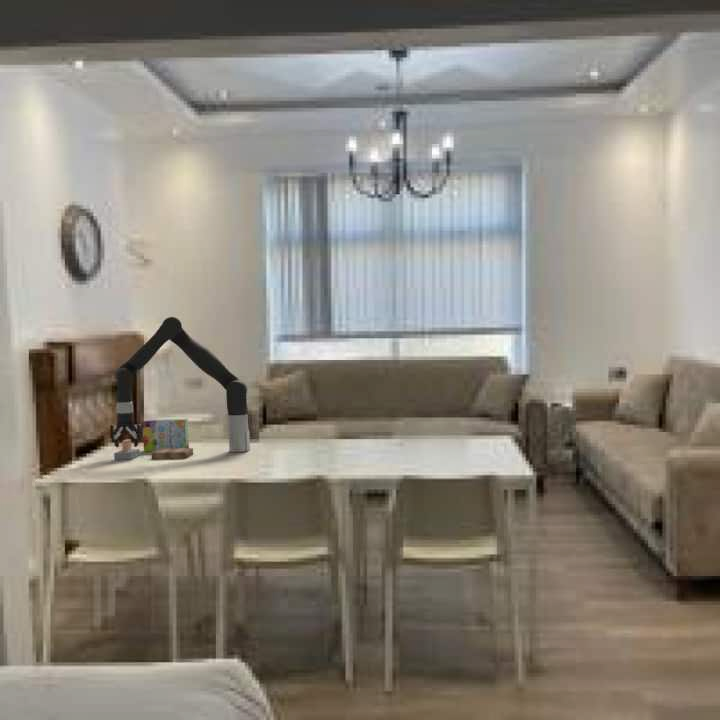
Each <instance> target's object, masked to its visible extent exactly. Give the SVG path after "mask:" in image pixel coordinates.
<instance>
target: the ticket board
mask: <svg viewBox="0 0 720 720" xmlns="http://www.w3.org/2000/svg"><path fill="white" fill-rule="evenodd" d="M193 455H194V448H192V447H189V448H178V449H158V450H156V451H151V460H184V459H185V460H186V459H189V458H191V457H192V456H193Z"/></svg>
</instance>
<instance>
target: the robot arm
mask: <svg viewBox="0 0 720 720" xmlns="http://www.w3.org/2000/svg"><path fill="white" fill-rule="evenodd" d="M168 341H171V343H173V344H175V345H176V346H177V347H178V348H179V349H180V350H181V351H182V352H183V353H184V354H185V355H186V356H187V357H188V359H189V360H191V361H192V363H194V364H195V366H196V367H198V368H199V370H201V371H203V373H205V374H206V375H208V376H209V377H211V378H213V379H214V380H215V381H216V382H218V383H219V384H220V385H221V386H222V388H223V389H224V390H225V392H226V394H225V397H226V409H227V421H228V422H227V424H228V425H227V427H228V430H227V431H228V446H229V447H228V449H229V452H231V453H244V452H249V451H250V450H251V445H250V444H251V443H250V442H251V441H250V440H251V439H250V430H249V419H248V418H249V415H248V414H249V413H248V403H247V400H248V399H247V393H248V386H247V384H246V383H245V382H244V381H243V380H241V379H240V378H238V376H236V375H235V374H233V373H232V372H231V371H230V370H229V369H228V368H227V367H226V366H225V365H224V363H222V362H221V360H220V359H219V358H218V357H217V356H216V355H215V354H214V353H213V352H212V351H210V349H209V348H207V347H206V345H205V346H204V344H202V343H201V342H199V341H198V340H195V339H194V338H193V337H191V336H190V335H189V334H188V332H187V331H186V330H184V328H183V326H182V322H181V320H180V319H179V318H177V317H175V316H169V317H166V318H165V319H164V320H163V321H162V323H161V325H160V326H159V327H158V329H157V330H156V332H155V333H154V334H153V335H152V336H151V337H150V338H149V340H147V341H146V342H145V343H144V344H143V345H142V346H141V347H140V348H139V349H138V350H136V352H135V353H134V354H133V355H132V356H131V357H130V358H129V359H128V360H127V361H126V362H124V363H123V364H122V365H121V366H120V367H118V369H116V371H115V372H114V379H115V381H116V383H117V390H116V393H115V394H116V398H115V399H116V405H115V406H116V407H115V409H116V410H115V411H116V424H111V425H110V426H109V438H110V439H113V440H114V447H115V448H119V447H120V438H119V437H120V436H121V435H124V434H126V435H129V434H130V435H131V436H132V437H133V438H134V439H133V447H135V448H137V447H138V445H139V439H140V438H141V437H143V428H142V424H141V423H138V424H137V423H136V424H135V417H134V416H135V415H134V403H133V382H134V381H133V380H134V379H133V378H134V377H133V376H134V375H135V374H136V373H137V372H138V371H141V369H143V368H144V367H145V366H146V365H147V364H148V363H149V362H150V361H151V360H152V358H153V357H154V356H155V355H156V354H157V352H158V351H159V350H160V349H161V348H162V347H163V346H164V345H165V344H166V343H167V342H168ZM116 429H117V432H116V434H115V430H116ZM134 429H135V430H137V433H136V431H135V430H134Z"/></svg>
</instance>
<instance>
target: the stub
mask: <svg viewBox="0 0 720 720" xmlns="http://www.w3.org/2000/svg"><path fill="white" fill-rule="evenodd" d="M121 444H122V445H121V447H122V449H120V450H118V451H116V452H114V453H113V457H114V461H116V460H117V461H121V460H122V461H126V460H133V459H135V458H137V457H139V456H140V455H141V453H140V452H141V451H140V448H132V439H124V440H122V441H121Z"/></svg>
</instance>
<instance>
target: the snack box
mask: <svg viewBox="0 0 720 720" xmlns="http://www.w3.org/2000/svg"><path fill="white" fill-rule="evenodd" d="M189 436H190V435H189V419H188V418H161V419H159V418H158V419H144V420H142V439H143V441H142V442H143V443H142V444H143V452H154V451H156V450H158V449H178V448H190V439H189V438H190V437H189Z"/></svg>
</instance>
